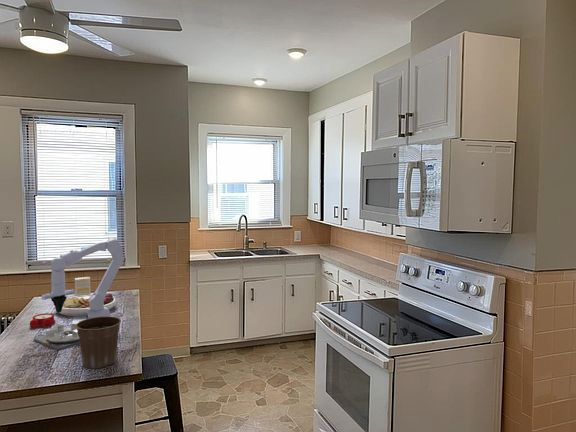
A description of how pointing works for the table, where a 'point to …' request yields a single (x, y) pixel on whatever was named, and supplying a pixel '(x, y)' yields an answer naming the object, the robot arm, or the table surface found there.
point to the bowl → (83, 305)
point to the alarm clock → (42, 320)
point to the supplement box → (82, 286)
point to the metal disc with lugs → (62, 334)
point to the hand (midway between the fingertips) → (58, 311)
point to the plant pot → (98, 341)
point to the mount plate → (55, 345)
